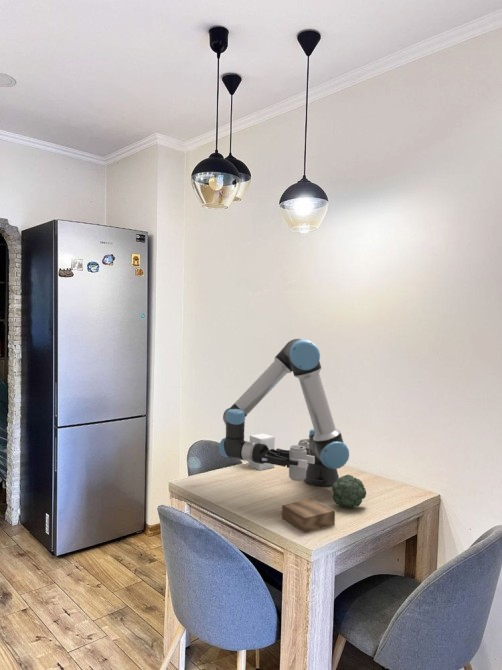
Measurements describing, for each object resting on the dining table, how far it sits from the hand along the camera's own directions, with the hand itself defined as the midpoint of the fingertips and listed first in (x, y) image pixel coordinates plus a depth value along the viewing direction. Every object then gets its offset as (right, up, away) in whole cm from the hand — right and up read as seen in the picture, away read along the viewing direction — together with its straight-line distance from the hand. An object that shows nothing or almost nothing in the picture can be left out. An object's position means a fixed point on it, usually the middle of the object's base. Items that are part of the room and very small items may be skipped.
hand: (310, 462), depth 176 cm
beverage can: (-5, -7, +3) cm, 9 cm away
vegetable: (+15, -19, +8) cm, 25 cm away
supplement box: (-17, -17, +54) cm, 59 cm away
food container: (+5, -17, +65) cm, 68 cm away
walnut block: (-2, -18, -9) cm, 21 cm away
